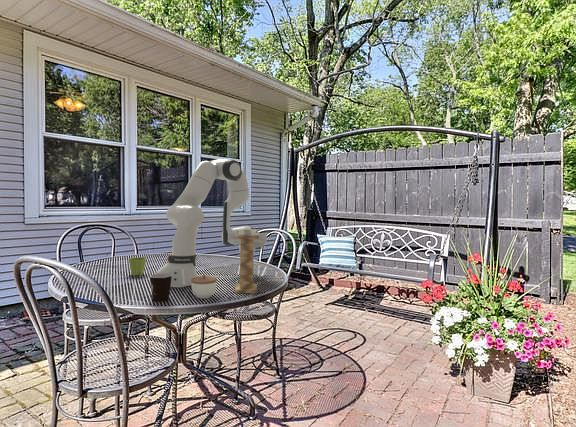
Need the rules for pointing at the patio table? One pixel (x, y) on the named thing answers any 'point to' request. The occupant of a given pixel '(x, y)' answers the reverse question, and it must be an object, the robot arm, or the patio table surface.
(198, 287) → the lidded jar
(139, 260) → the plant pot
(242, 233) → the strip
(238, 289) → the stand
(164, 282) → the coffee mug
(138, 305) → the patio table surface
